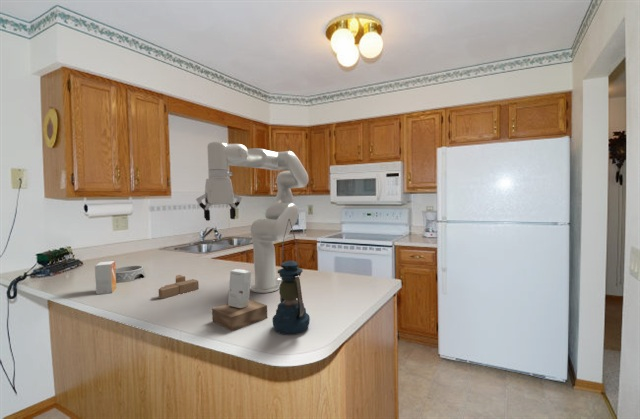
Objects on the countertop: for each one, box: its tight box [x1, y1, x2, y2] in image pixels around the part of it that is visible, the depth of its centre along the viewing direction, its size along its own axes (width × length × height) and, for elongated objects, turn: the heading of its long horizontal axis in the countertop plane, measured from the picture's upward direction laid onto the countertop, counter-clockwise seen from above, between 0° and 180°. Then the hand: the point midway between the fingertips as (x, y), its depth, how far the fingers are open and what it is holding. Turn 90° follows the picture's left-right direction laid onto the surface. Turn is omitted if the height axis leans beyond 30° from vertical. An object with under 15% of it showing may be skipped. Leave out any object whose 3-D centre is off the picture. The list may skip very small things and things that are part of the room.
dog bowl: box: [115, 265, 147, 284], centre depth 172 cm, size 17×18×5 cm
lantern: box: [272, 219, 311, 336], centre depth 103 cm, size 14×12×35 cm
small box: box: [94, 260, 117, 295], centre depth 149 cm, size 8×6×13 cm
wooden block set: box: [158, 274, 199, 300], centre depth 148 cm, size 17×6×18 cm
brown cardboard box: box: [211, 298, 268, 332], centre depth 112 cm, size 14×12×5 cm
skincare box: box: [227, 268, 252, 308], centre depth 112 cm, size 6×4×12 cm
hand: (220, 219), depth 126 cm, fingers open, 9 cm apart
